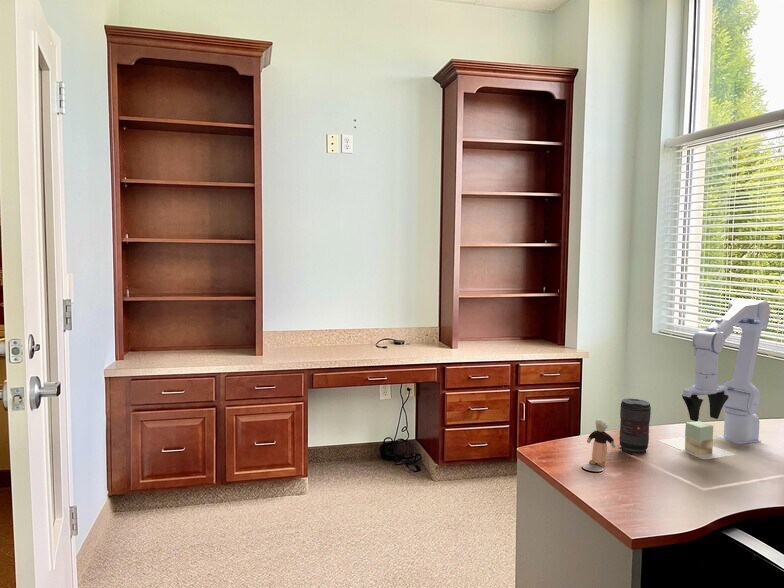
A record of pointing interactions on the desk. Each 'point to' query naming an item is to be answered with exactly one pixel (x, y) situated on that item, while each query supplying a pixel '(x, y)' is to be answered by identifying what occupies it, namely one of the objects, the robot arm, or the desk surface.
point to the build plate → (680, 445)
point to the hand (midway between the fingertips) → (704, 419)
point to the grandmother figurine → (600, 443)
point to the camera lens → (634, 426)
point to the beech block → (698, 446)
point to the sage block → (699, 431)
